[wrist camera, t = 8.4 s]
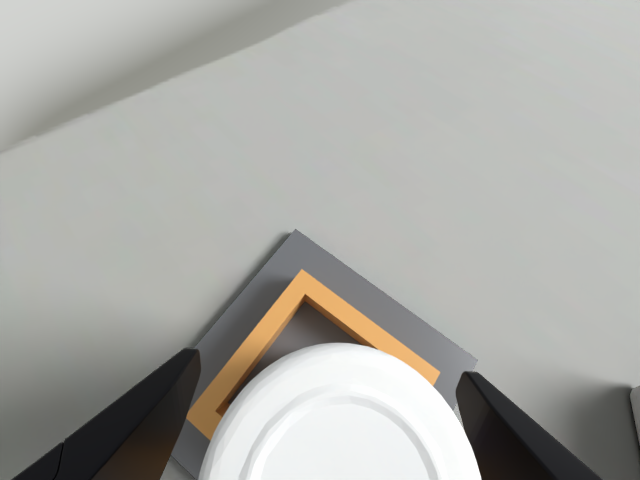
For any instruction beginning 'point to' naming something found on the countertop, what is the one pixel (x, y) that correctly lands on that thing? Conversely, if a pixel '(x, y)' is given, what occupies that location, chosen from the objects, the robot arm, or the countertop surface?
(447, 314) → the countertop surface
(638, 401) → the electrical switch
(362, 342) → the socket
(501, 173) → the countertop surface
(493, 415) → the robot arm
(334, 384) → the sprinkles bottle
